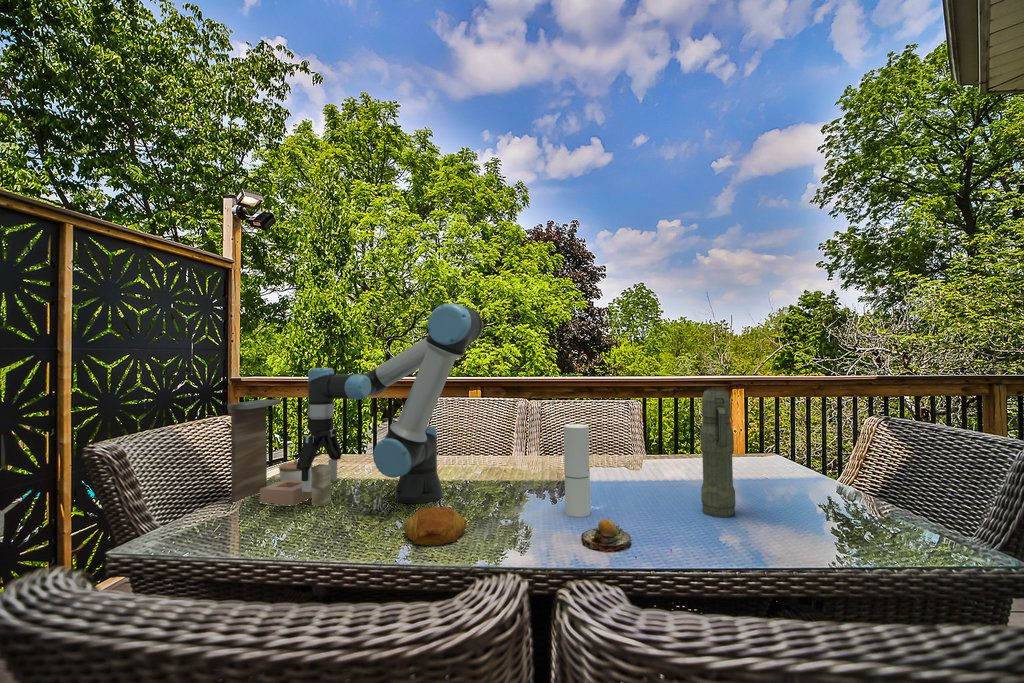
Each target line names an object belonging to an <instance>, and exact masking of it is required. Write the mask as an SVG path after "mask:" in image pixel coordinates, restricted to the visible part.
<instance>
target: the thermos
mask: <svg viewBox="0 0 1024 683" xmlns="http://www.w3.org/2000/svg"><path fill="white" fill-rule="evenodd" d="M731 411H732V410H731V398H730V395H729V392H728V391H727V390H725V389H724V388H723V389H722V388H707V390H704V392H703V394H702V398H701V416H702V422H701V423H702V425H701V428H700V432H699V434H700V435H699V437H700V450H701V453H702V485H701V487H700V492H701V493H700V495H701V496H700V497H701V503H702V510H701V511H702V513H703V514H704V515H706V516H710V517H715V518H732V517H734V516H735V515H736V511H735V510H736V508H735V507H736V489H735V487H734V484H733V483H734V482H733V481H734V480H733V475H734V472H733V453H734V451H735V446H734V445H735V444H734V443H735V441H734V431H733V428H732V422H731V418H732V417H731V414H732V412H731Z"/></svg>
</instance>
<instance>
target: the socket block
mask: <svg viewBox="0 0 1024 683" xmlns="http://www.w3.org/2000/svg"><path fill="white" fill-rule="evenodd" d="M311 497H312V488H311V492H302V480H287V479H285V480H282V481H281V480H280V481H277V482H275V483H272V484H269V485H267V486H266V487H264V488H261V489H260V495H259V503H260V502H262V503H274V504H284V505H293V506H294V505H295V504H298V503H300V502H302V501H304V500H306V499H308V498H311Z"/></svg>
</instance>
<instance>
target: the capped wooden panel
mask: <svg viewBox="0 0 1024 683" xmlns="http://www.w3.org/2000/svg"><path fill="white" fill-rule="evenodd" d="M281 404H282V399H257V400H250V401H242V402H237V403H236V402H235V403H227V406H226V407H227V408H226V409H227V410H230V420H231V421H230V437H231V438H230V441H231V444H230V449H231V450H230V452H231V454H230V456H231V459H230V460H231V462H230V464H231V471H230V472H231V475H230V476H231V482H230V483H231V486H230V487H231V488H230V489H231V491H230V492H231V503H232V502H236V501H239V500H241V499H243V498H245V497H248V496H251V495H254V494H257V493H260V489H261V488H264V487H266V486H268V485H267V484H268V480H267V479H268V478H267V476H268V475H267V474H268V473H267V472H268V471H267V469H268V468H267V466H268V465H267V407H271V406H276V405H277V406H278V405H281Z"/></svg>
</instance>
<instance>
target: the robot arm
mask: <svg viewBox="0 0 1024 683" xmlns="http://www.w3.org/2000/svg"><path fill="white" fill-rule="evenodd" d="M483 326H484V323H483V319H482V317H481V315H480V314H479V312H478V310H476V309H474V308H472V307H469V306H465V305H461V304H458V303H443V304H441V305H438V306H437V307H436V308H435V309H433V311H432V312H431V313H430V314H429V317H428V319H427V330H428V334H427V337H425V338H423V339H421V340H419V341H418V342H417V343H415V344H413V345H412V346H410V347H408V348H407V349H405V350H403V351H401V352H399V353H397V355H395V356H393V357H391V358H390V359H387V361H384V362H383V363H381V364H380V365H378V366H376V367H375V368H373V369H371V370H370V371H368V372H365V373H353V374H336V373H335V372H334V370H335V369H333V368H332V367H312V368H310V369H309V370H308V374H307V375H308V378H307V396H308V397H307V398H308V400H307V406H308V407H307V417H308V419H307V430H308V431H309V432H310V435H304V436H303V440H302V445H301V446H302V447H301V448H300V449H301V450H300V452H299V456H298V459H297V462H298V463H297V466H296V468H297V469H298V470H301V471H302V492H311V488H312V470H311V469H310V467H311V465H312V466H313V463H314V460H315V457H316V455H317V453H318V452H319V451H320V450H321V449H322V448H324V450H325V452H326V453H327V455H328V457H329V459H328V463H327V465H331V481H334V482H335V481H338V460H341V458H342V455H343V454H342V450H341V446H340V443H339V440H338V436H337V429H334V418H333V416H334V399H335V400H336V399H343V400H353V401H356V400H364V399H367V398H368V397H370V396H378V395H380V394H382V393H384V392H385V391H386V389H387V388H388V387H391V385H393V384H395V383H397V382H398V381H401V380H402V379H404V378H405V377H407V376H409V375H411V374H412V373H414V372H416V371H417V370H418V371H417V374H416V376H415V378H414V381H413V384H412V386H411V388H410V390H409V393H408V396H407V398H406V400H405V403H404V405H403V408H402V410H401V411H400V415H399V417H398V420H397V421H396V422H392V423H391V424H390V425H389V428H388V430H387V432H386V434H385V436H384V438H383V439H380V441H379V442H378V443H377V444H376V445H375V447H374V449H373V453H372V457H373V458H372V459H373V462H374V464H375V467H376V469H377V470H378V472H380V473H381V474H382V475H383V476H385V477H387V478H393V479H394V478H395V479H396V478H399V479H398V480H397V481H398V482H397V485H396V488H395V492H394V495H395V496H394V497H395V498H394V499H395V500H396V501H397V502H399V503H402V504H403V503H404V504H425V503H430V502H434V501H437V500H440V499H441V498H442V497H443V494H444V493H443V491H444V490H443V486H442V483H441V480H440V477H439V475H438V459H437V458H438V457H437V456H438V454H437V453H438V449H437V448H438V447H437V446H438V442H437V439H438V436H437V429H436V427H434V426H432V425H431V426H429V422H430V420H431V418H432V416H433V413H434V410H435V408H436V405H437V403H438V401H439V399H440V397H441V395H442V392H443V390H444V386H445V385H446V382H447V381H448V377H449V375H450V374H451V371H452V368H453V366H454V364H455V361H456V360H457V359H459V358H462V357H463V355H464V353H465V350H466V348H467V346H469V345H470V344H472V343H474V342H476V341H477V340H478V339H479V338H480V337H481V334H482V333H483V328H484V327H483ZM301 464H302V465H301Z"/></svg>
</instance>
